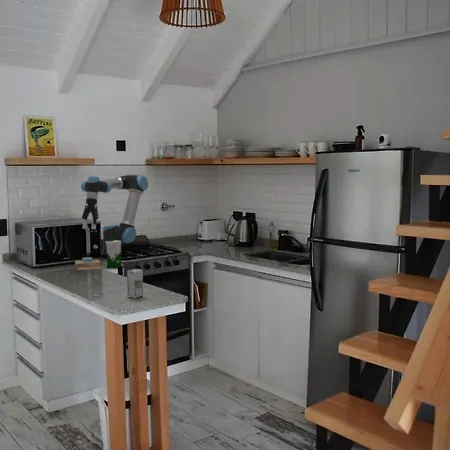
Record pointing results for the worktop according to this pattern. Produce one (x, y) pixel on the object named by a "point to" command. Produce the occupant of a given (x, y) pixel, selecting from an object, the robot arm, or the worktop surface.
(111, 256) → the milk carton
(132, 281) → the syrup box
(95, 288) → the worktop surface
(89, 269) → the mat
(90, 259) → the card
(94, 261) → the board
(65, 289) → the worktop surface
